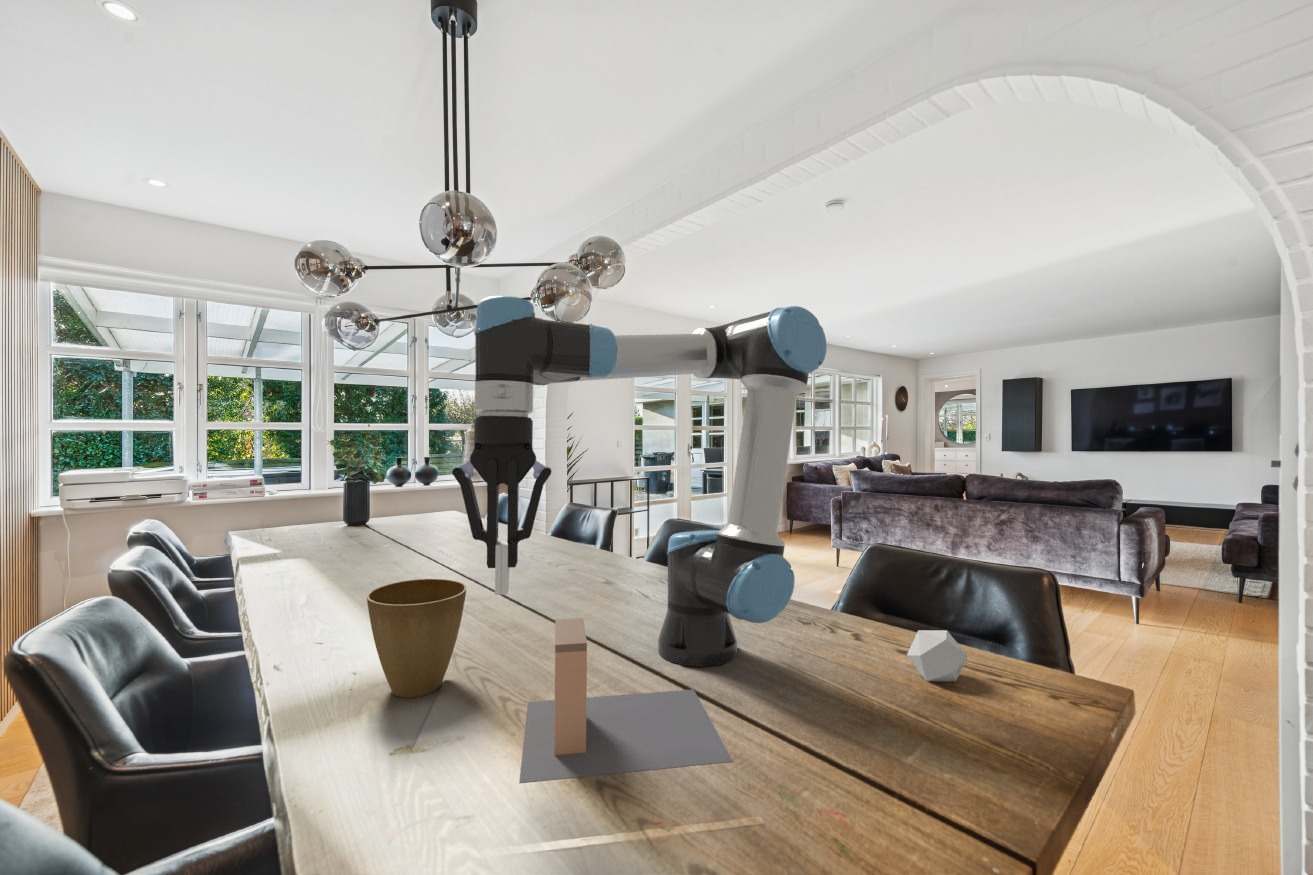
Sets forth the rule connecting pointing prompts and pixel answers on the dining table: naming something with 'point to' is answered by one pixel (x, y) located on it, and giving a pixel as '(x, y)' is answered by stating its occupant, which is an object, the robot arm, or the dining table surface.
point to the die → (937, 655)
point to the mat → (624, 737)
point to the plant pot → (416, 631)
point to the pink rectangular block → (570, 686)
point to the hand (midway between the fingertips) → (502, 591)
